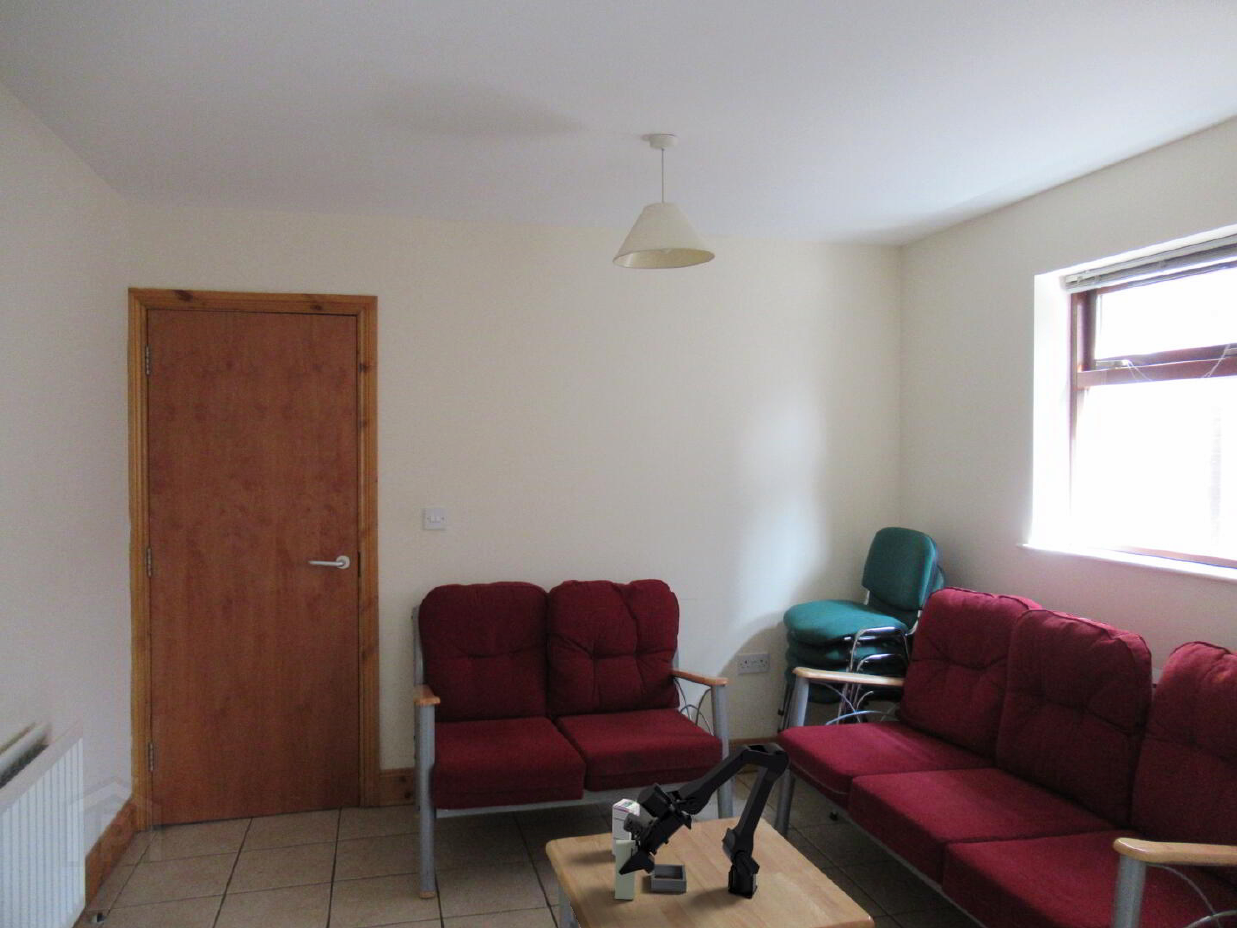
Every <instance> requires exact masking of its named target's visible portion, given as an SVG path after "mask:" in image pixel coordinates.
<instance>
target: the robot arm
mask: <svg viewBox="0 0 1237 928" xmlns="http://www.w3.org/2000/svg"><path fill="white" fill-rule="evenodd" d="M790 762H791V759H790V756H789V754H788V752H787V751H785V750H784V749H783V748H782V747H781V746H779V744H777V743H775V742H767V743H765V744H764V743H763V744H762V743H753V744H739V745H737V747H736V748H735V749H734V750H733V751H732V752H731V753H730V754H728V755H727V756H726V757H725V758H724V759H723V760H721V761H720V762H719V763H717V764H716V765H715V766H714V767H713V768H712V769H710V770H709V771H708V772H707V773H706V774H705V775H703V776H702V777H700V778H698V779H697V778H696V779H693V780H690V781H689V782H687V783H685V784H684V785H682V786H680V787H679V788H678V789H674V790H670V791H664V790H663V789H662V788H661V787H660V785H659V784H658V783H657V782H654V783H653V784H652V785H648V786H646V787H645V788H643V789H641V791H640V792H639V794H638V796H637V799H636V802H637V803H638V804H639V807H641V808H642V809H643V810H645V812H646V813H647V814H648V815H650V817H652V818H650V819H649V820H648V821H647V820H646V819H644V818H643V817H640V815H639V816H637V815H635V814H633V813H630V812H629V813H628V815H627V817H626V819H625V821H624V823H623V824H624V826H623V829H624V830H625V831H627V832H630V833H631V840H635V841H636V847H635V848H634V850H633V849H632V848H631V856H630V857H629V859H628V860H627V861H626V862H625V864H624V865H623V866H622V867H621V869H620V870H619V874H620V875H624V874H627V873H631V872H635V873H636V872H638V871H643V870H644V871H645V872H646V873H647V874H648V875H651V872H652V871H653V870H654V869H655V864H656V863H655V862H656V860H655V856H656V855H657V854H658V850H659V849H660V848H661V847H662V846H663V845H664V844H665V845H666V846H667V845H668V844H669V842H670V838H671V837H672V836H674V835H675V834H676V833H677V831H679V830H680V829H681V828H682V827H683V826H685V827H686V828H687V829H688V830H692V829H693V828H692V821H693V818H692V816H696V815H697V816H698V814H700V813H701V812H702V811H703V809H705V807H706V806H707V805H708V804H709V803H710V800H711V798H712V796H713V795H714V793H716V791H717V790H718V791H719V789H720V788H721V787H723V785H725V784H726V783H728V781H730V780H731V779H732V778H733V777H734V776H735V775H737V774H738V773H739V772H740V771H742V770H743V769H744V768H745V767H746V766H748V765H754V766H757V776H756V778H755V781H754V783H753V786H752V788H751V790H750V792H749V795H748V798H747V801H746V803H745V804H744V805H745V806H744V807H743V810H742V812H741V815H740V818H739V821H738V823H737V824H736V825H735V826H734V827H733V828H730V827H727V828H726V830H725V836H724V837H723V838H722V839H721V842H722V846H721V847H722V852H723V853H724V855H725V856H726V857H727V859H728V860H729V861H730V863H731V866H730V868H729V871H728V872H727V873H728V876H727V887H728V889H727V893H728V894H730V895H731V894H732V895H736V896H740V897H744V898H750V899H753V897H754V895H755V893H756V892H757V890H758V887H759V886H758V885H757V874H758V873H759V871H760V868H761V866H760V864H759V863H758V862H757V861H756V860H755V858H754V857H753V854H754V845H755V843H754V842H755V832H756V829H757V828H758V825H759V822H760V821H761V817H762V815H763V812H764V811H765V808H766V805H767V802H768V800H769V798H770V796H771V792H772V791H773V789H774V788H773V787H774V785H775V783H776V782H777V781H778V780H780V779H781V778H782V777H783V776H784V774H785V773H786V771H787V769H788V768H789V766H790V764H791V763H790ZM654 818H655V819H654Z"/></svg>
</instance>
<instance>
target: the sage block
mask: <svg viewBox="0 0 1237 928" xmlns="http://www.w3.org/2000/svg"><path fill="white" fill-rule="evenodd" d="M635 847H636V841H635V840H616V856H615V867H614V868H615V869H614V871H615V875H614V877H615V879H614V880H615V881H614V899H616V900H635V891H636V885H635V884H636V871H635V872H631V873H627V874H624V875H620V874H619V870H620V869H621V867H622V866H623V865H624V864H625V862H626V861H627V860H628V859H629V857H630V856H631V848H632V849H633V850H634V848H635Z"/></svg>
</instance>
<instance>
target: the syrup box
mask: <svg viewBox="0 0 1237 928" xmlns="http://www.w3.org/2000/svg"><path fill="white" fill-rule="evenodd" d="M629 812H630V813H633V814H635V815H637V816H639V817H640V805H639V804H638V803H637V801H635V800H632V799H627V798H623V799H622V800H620V801H618V802H616V803H614V804H613V805H612V825H611V826H612V833H611V834H612V839H611V842H612V843H611V849H612V850H611V855H613V856H615V857H616V840H631V833H630V832H627V831H625V830H624V829H623V826H624V824H623V823H624V821H625V819H626V817H627V815H628V813H629Z"/></svg>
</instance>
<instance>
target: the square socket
mask: <svg viewBox="0 0 1237 928" xmlns="http://www.w3.org/2000/svg"><path fill="white" fill-rule="evenodd" d="M660 876H670V877H669V878H656V877H660ZM673 878H675V879H673ZM677 878H678V879H677ZM679 878H681V879H679ZM650 882H651V883H650V884H651V885H650V886H651V887H650V888H651V890H652V891H651V892H654V891H662V892H661V893H682V892H685V894H686V893H687V890H688V889H687V887H688V886H687V873H686V865H685V864H669V863H668V864H667V863H666V864H665V863H655V869H654V870H653V871H652V872H651V873H650Z"/></svg>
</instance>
